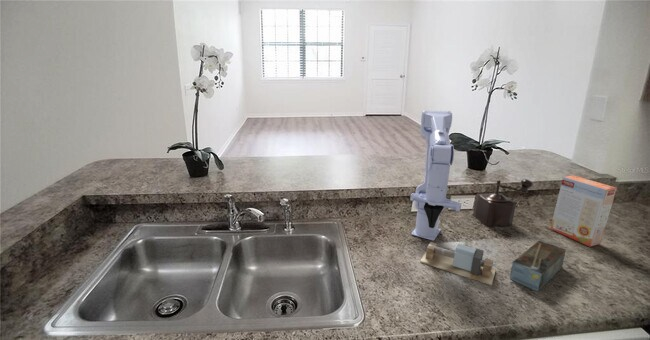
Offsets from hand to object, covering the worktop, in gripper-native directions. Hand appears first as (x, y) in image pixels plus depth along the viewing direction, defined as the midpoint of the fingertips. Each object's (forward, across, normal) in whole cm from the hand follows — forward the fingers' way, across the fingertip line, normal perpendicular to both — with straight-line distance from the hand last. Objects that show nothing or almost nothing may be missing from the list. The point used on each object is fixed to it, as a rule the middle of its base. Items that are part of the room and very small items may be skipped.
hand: (431, 226), depth 102 cm
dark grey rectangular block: (+10, +14, -1) cm, 18 cm away
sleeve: (+9, +11, -1) cm, 14 cm away
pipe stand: (+10, +9, -1) cm, 14 cm away
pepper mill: (+10, +16, +41) cm, 45 cm away
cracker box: (+10, +40, +42) cm, 59 cm away
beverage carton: (+11, +29, +9) cm, 32 cm away
